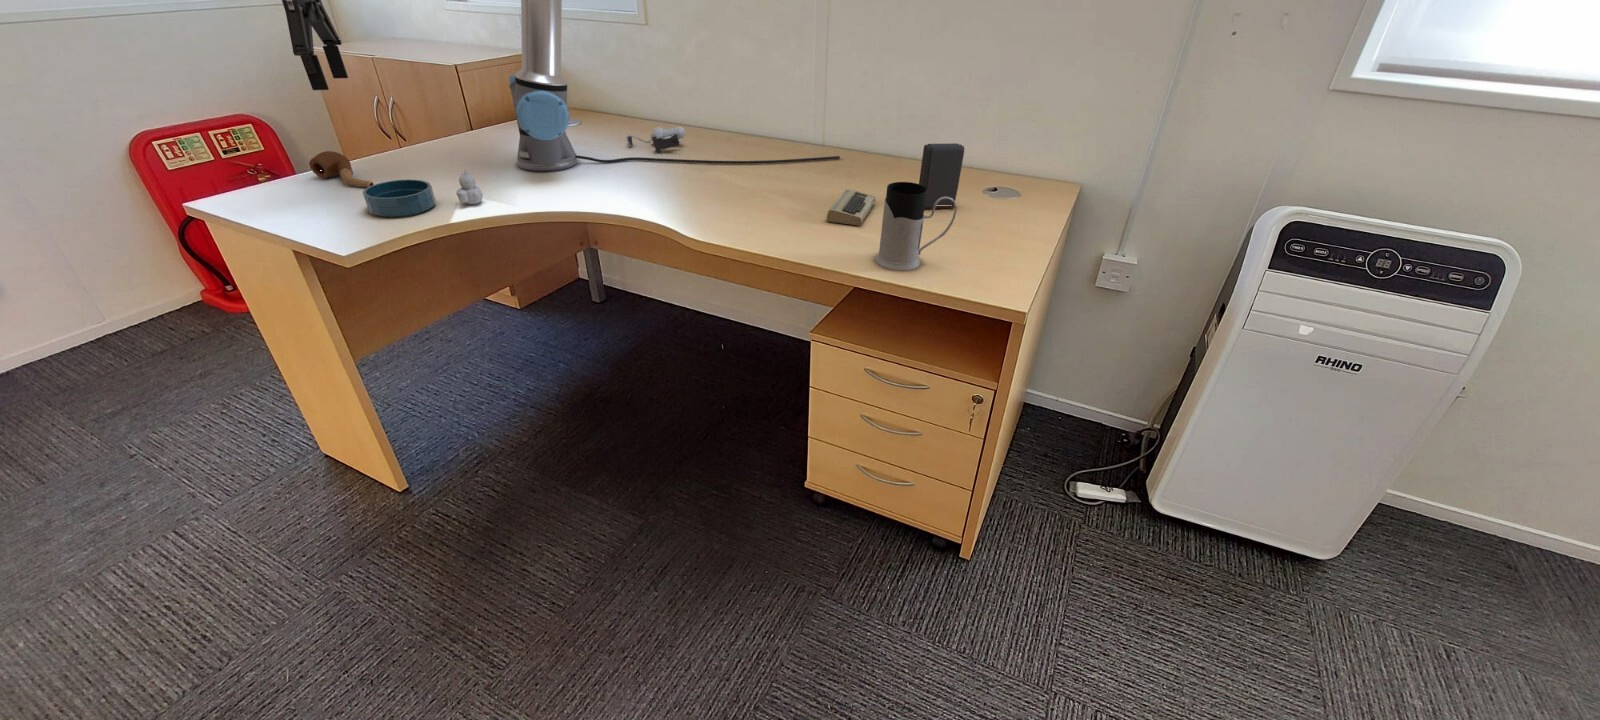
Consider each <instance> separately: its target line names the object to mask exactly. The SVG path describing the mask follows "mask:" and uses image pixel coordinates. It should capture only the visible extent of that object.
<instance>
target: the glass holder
mask: <svg viewBox="0 0 1600 720" xmlns="http://www.w3.org/2000/svg"><path fill="white" fill-rule="evenodd" d="M885 193H886V194H885V197H884V202H883V203H884V204H883V214H882V221H881V230H880V231H881V232H880V240H879V250H878V254H877V256H876V257H875V261H876V263H877V265H879V266H880V267H883V268H884V269H887V270H891V271H900V272H903V271H904V272H905V271H912V270H915V269H917V268H918V267H919V266H920V259H919V256H920V255H921V252H922V251H924V249H926V248H928V247H929V246H931V245H932V244H933V243H936V242H937V241H938V240H940V239H941V238H942V237H944V236H945V235H946V234H947V232H948V231H949V230H950V228H951V226H952V225H953V224H954V221H955V219H956V215H957V207H958V206H957V202H956V200H955V201H954V200H953V199H952V198H950V197H941V198H939V199H938V200H937V201H936V202H935V204H934V206H933V209H931V214H929V215H924V213H925V209H924V208H925V201H926V194H927V188H926V187H924V186H922V185H920V184H919V183H916V182H912V181H911V182H910V181H895V182H891V183H889V184H887V186H886V192H885ZM943 199H949V200H951V201H952V202H953V203H954V211H953V214H952V218H951V219H950V221H949V222H950V223H949V224H948V226H947V227H946V228H945V229H944V230H943V232H942V233H940V234H939V235H938V236H936V237H934V238H933V239H932V240H930V241H928V242H927V243H925V244H924V245H923V246H922V247H921V243H922V235H923V234H922V233H923V229H924V219H931V218H933V216H934V214H935V211H936V209H935V207H936V205H937V203H938V202H939V201H941V200H943Z"/></svg>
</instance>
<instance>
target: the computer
mask: <svg viewBox="0 0 1600 720" xmlns="http://www.w3.org/2000/svg"><path fill="white" fill-rule="evenodd" d="M875 202H876V197H875V195H872V194H869V193H864V192H861V191H857V190H854V189H844V190H843V192H842V193H841V194H840V196H839V197H838V198H837V199H836V200H835V202H834V203H833V205H832V206H831V207H830V208H829V210H828V212H827V216H826V221H827V222H830V223H837V224H845V225H853V226H859V227H860V226H861V225H862V223H863V221H864V220H865V218H866V217H867V215H868V214H869V212H870V211H871V210H872V208H873V205H874V204H875Z"/></svg>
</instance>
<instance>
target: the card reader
mask: <svg viewBox="0 0 1600 720" xmlns="http://www.w3.org/2000/svg"><path fill="white" fill-rule="evenodd" d="M964 156H965V146H964V145H962V144H959V143H956V142H955V143H927V144H924V146H923V151H922V159H921V165H920V173H919V181H918V184H920V185H922V186H924V187H926V188H927V194H926V201H925V208H924V210H933V206H934V204H935V202H936V201H937V200H938V199H939V198H941V197H950V198H952V199H953V200H954V201H955V202H956V199H957V194H958V189H959V185H960V184H959V182H960V178H961V173H962V168H963V167H962V166H963V161H964ZM937 205H952V206H936V207H935V210H937V209H938V210H941V209H943V210H944V209H952V208H955V205H954V203H953V202H952V201H951V200H949V199H943V200H941V201H939V202H938V203H937Z"/></svg>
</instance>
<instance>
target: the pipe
mask: <svg viewBox="0 0 1600 720" xmlns="http://www.w3.org/2000/svg"><path fill="white" fill-rule="evenodd" d="M351 164H352V163H351V162H350V160H349V158H347V157H346V156H345V155H344V154H342V153H340V152H337V151H333V150H332V151H331V150H327V151H326V150H325V151H322V152H320V153H317V154H316V155H314V156H313V157H312V158H311V159H309V162H308V165H309V169H311V171H312V172H313V174H315V175H316V176H317V177H319V178H321V179H329V178H333V177H337V176H340V178H341V180H342V181H343V182H344V184H345V183H346V184H347V185H352V186H357V187H364V188H368V187H370V186H372V185H375V184H374V182H373V181H371V180H366V179H365V180H364V179H359V178H355V177H353V175H354V171H353V168H352V165H351ZM320 170H322V171H320Z"/></svg>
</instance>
